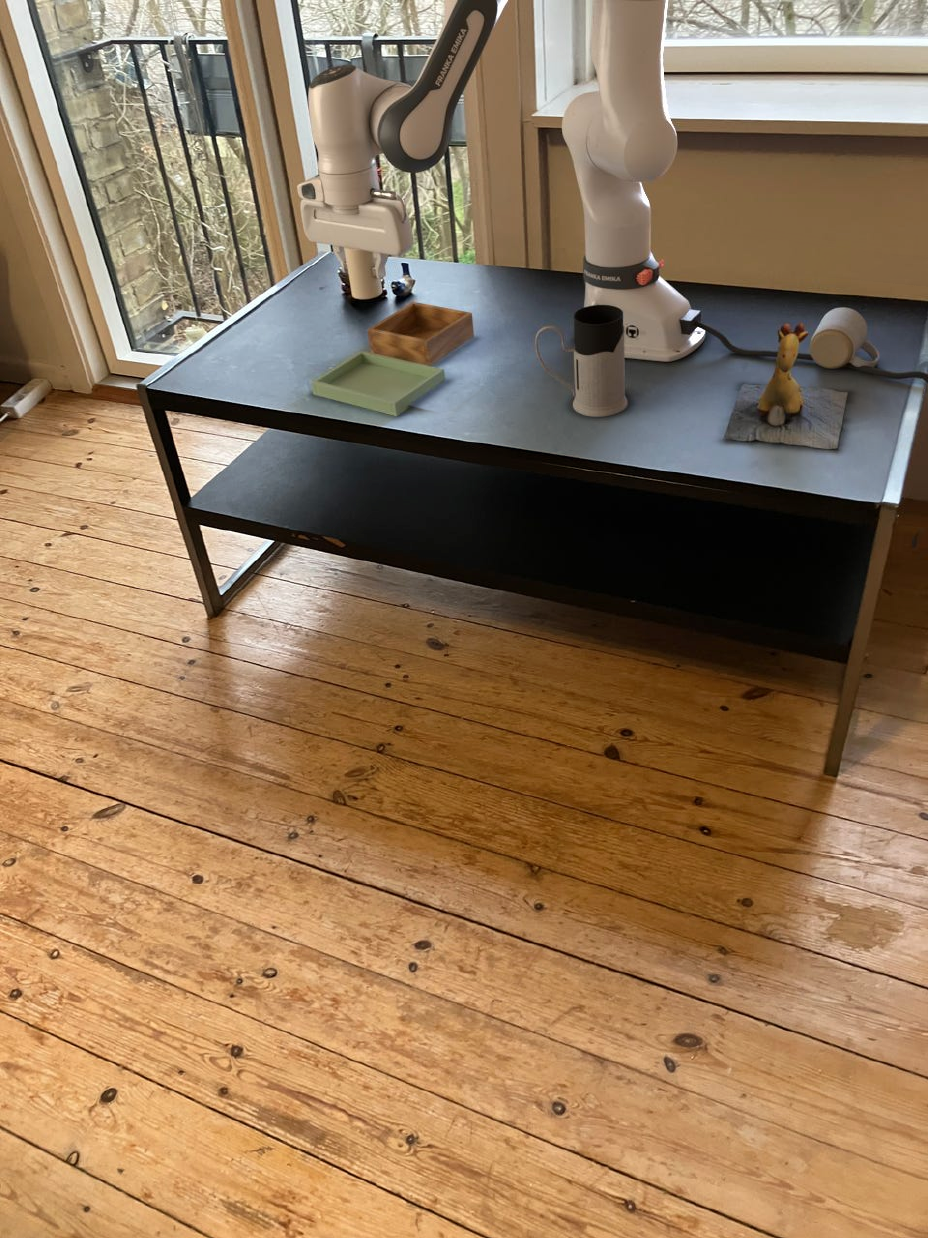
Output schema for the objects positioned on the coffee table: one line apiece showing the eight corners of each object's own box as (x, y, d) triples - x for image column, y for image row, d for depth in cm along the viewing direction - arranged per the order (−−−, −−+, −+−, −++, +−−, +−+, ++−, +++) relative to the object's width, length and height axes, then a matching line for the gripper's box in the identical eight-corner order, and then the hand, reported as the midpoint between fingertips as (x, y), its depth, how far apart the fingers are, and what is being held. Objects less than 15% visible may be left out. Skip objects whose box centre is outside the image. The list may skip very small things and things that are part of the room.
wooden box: (474, 339, 192) (471, 312, 189) (430, 369, 184) (426, 342, 181) (416, 327, 199) (412, 301, 196) (371, 355, 191) (367, 329, 188)
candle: (388, 289, 171) (381, 240, 166) (369, 301, 168) (361, 251, 163) (365, 285, 173) (357, 237, 168) (345, 296, 170) (337, 247, 165)
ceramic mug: (804, 368, 170) (810, 323, 165) (817, 347, 176) (823, 303, 171) (871, 378, 166) (879, 332, 161) (882, 356, 171) (891, 311, 166)
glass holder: (630, 414, 164) (630, 323, 155) (540, 421, 165) (534, 331, 156) (624, 389, 171) (624, 300, 162) (538, 395, 172) (532, 308, 163)
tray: (445, 382, 179) (444, 369, 178) (396, 416, 171) (394, 403, 170) (363, 362, 189) (361, 350, 187) (313, 394, 181) (310, 381, 179)
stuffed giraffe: (723, 438, 155) (735, 336, 145) (742, 387, 168) (754, 290, 158) (836, 452, 150) (855, 347, 140) (846, 398, 163) (865, 299, 154)
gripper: (416, 186, 157) (426, 276, 165) (315, 173, 167) (330, 259, 175) (389, 198, 153) (402, 290, 161) (288, 185, 163) (305, 272, 172)
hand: (364, 274), depth 168 cm, fingers closed on candle, 5 cm apart
